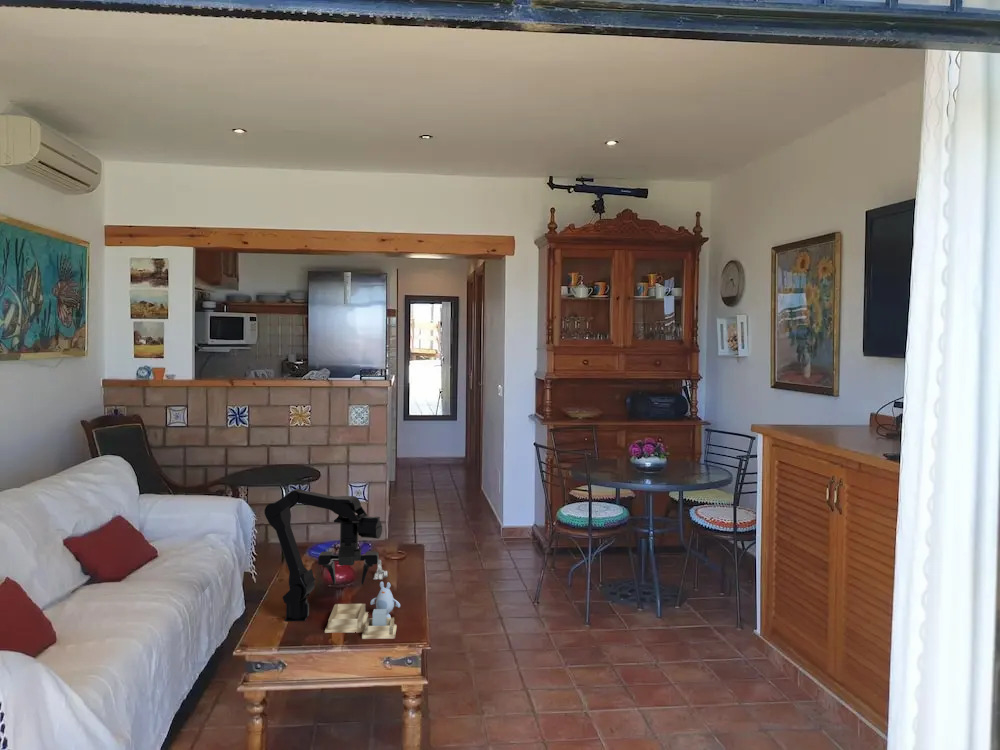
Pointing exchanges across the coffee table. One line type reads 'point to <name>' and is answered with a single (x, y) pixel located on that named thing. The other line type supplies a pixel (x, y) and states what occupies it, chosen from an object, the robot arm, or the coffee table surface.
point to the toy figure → (385, 599)
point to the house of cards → (380, 572)
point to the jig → (358, 622)
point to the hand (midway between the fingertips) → (348, 584)
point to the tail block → (380, 617)
